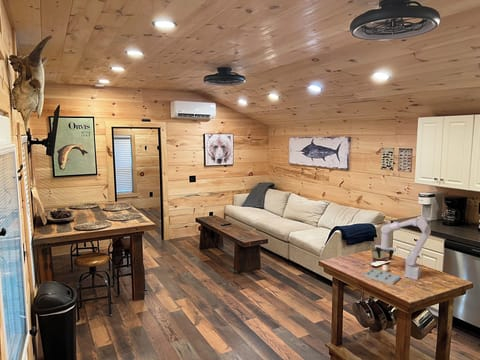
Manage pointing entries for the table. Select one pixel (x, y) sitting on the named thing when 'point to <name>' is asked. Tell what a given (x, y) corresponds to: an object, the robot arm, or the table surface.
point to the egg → (385, 268)
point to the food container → (382, 255)
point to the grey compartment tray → (382, 276)
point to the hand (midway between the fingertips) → (384, 258)
